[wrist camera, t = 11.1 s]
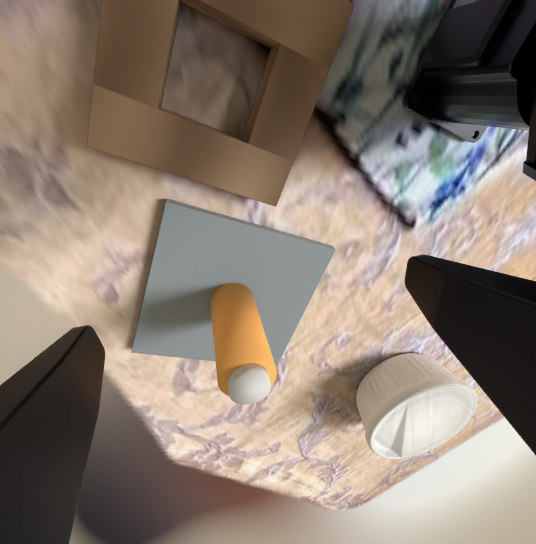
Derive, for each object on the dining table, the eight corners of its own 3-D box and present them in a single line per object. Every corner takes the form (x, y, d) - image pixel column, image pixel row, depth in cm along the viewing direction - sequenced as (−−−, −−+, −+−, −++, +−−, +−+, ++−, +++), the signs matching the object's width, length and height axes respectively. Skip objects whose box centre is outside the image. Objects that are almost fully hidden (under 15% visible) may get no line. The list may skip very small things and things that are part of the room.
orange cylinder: (259, 287, 22) (289, 370, 16) (245, 321, 24) (267, 411, 17) (217, 278, 21) (230, 364, 14) (204, 314, 22) (211, 409, 16)
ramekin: (326, 391, 32) (349, 440, 27) (415, 325, 29) (455, 366, 25) (376, 426, 37) (401, 471, 33) (453, 372, 35) (491, 413, 31)
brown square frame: (336, 14, 16) (354, 4, 14) (268, 197, 20) (276, 206, 18) (128, -116, 12) (118, -150, 10) (97, 141, 16) (86, 146, 14)
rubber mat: (332, 246, 23) (335, 249, 22) (274, 362, 27) (275, 367, 27) (166, 198, 18) (165, 201, 18) (132, 346, 23) (131, 352, 23)
